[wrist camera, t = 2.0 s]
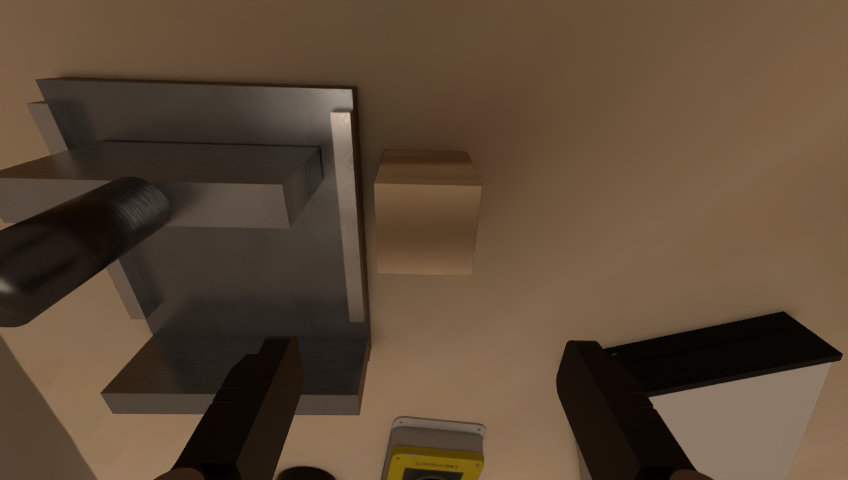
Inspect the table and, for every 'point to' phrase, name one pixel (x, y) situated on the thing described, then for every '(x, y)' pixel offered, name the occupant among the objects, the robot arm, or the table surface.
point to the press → (233, 242)
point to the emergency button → (434, 450)
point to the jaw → (133, 207)
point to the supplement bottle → (304, 474)
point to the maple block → (426, 212)
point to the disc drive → (733, 392)
